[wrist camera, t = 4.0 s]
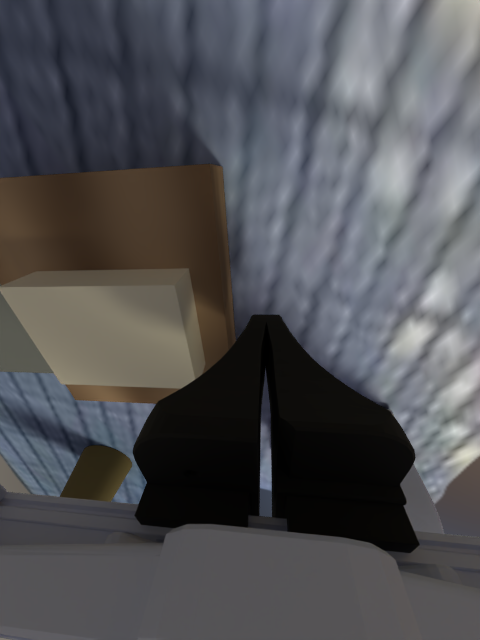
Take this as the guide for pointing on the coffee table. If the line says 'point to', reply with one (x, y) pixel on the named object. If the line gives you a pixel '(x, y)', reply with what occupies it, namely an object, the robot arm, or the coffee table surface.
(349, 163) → the coffee table surface
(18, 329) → the mat
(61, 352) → the tile
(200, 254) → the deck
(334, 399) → the robot arm
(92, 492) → the cork
